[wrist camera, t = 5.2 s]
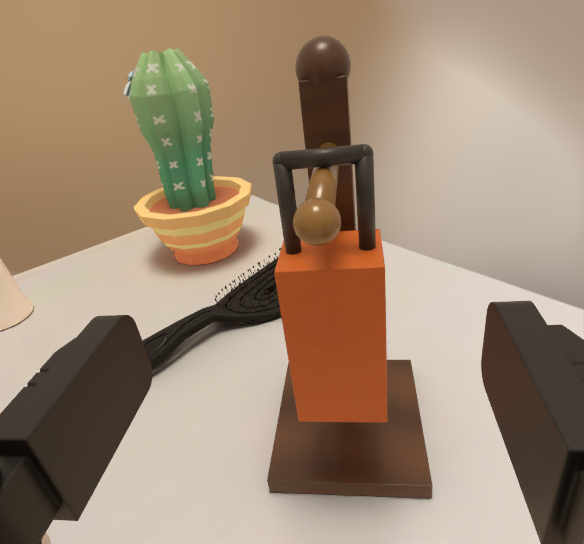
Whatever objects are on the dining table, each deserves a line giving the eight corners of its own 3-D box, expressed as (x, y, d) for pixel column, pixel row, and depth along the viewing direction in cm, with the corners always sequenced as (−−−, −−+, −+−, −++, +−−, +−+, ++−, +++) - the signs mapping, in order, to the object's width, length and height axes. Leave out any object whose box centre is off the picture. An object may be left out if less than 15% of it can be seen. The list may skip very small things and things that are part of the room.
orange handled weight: (387, 422, 24) (383, 155, 17) (298, 422, 25) (256, 167, 17) (383, 372, 27) (377, 131, 20) (304, 372, 28) (272, 142, 21)
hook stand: (440, 552, 23) (488, 27, 11) (261, 541, 25) (129, 73, 13) (410, 370, 35) (417, 21, 23) (290, 371, 37) (236, 45, 25)
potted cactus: (250, 218, 68) (218, 40, 56) (272, 260, 55) (236, 39, 43) (151, 240, 66) (94, 58, 53) (149, 289, 52) (73, 62, 40)
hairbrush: (89, 341, 40) (290, 231, 52) (104, 370, 42) (295, 257, 54) (124, 385, 34) (341, 250, 47) (140, 416, 36) (344, 278, 48)
